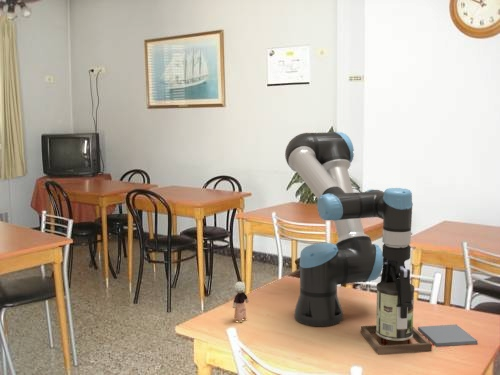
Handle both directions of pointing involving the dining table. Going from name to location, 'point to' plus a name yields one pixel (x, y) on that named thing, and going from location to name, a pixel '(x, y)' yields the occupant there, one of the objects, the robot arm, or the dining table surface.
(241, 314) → the grandmother figurine
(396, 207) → the robot arm
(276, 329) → the dining table surface
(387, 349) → the square picture frame
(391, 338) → the coffee can
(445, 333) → the mat
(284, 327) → the dining table surface
